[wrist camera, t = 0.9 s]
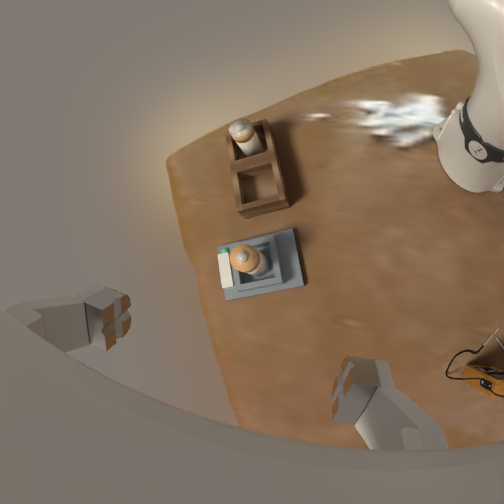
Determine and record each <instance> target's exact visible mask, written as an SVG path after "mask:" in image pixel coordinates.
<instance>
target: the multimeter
mask: <svg viewBox="0 0 504 504" xmlns="http://www.w3.org/2000/svg"><path fill="white" fill-rule="evenodd" d="M498 329H499V328H498ZM498 329H497V330H498ZM497 330H496V331H497ZM496 331H495V332H496ZM495 332H494V333H493V334H491V336H490V337H489V338H488V339H487V341H486V342H485V343H484V344H483V346H482V347H481V348H480V349H479V350H478V351H477V352H476V353H474V352H472V351H469V350H465V351H462V352H460V353H458V354H456V355H455V356H454V358H455V357H456V356H457V355H459V354H461V353H463V352H471V353H473V354H477V353H478V352H479V351H480V350H481V349H482V348H483V347H484V346H485V345H486V344H487V343H488V342H489V341H490V339H491V338H492V337H493V336H494V334H495ZM496 338H497V337H496ZM497 340H498V338H497ZM498 342H499V343H500V341H499V340H498ZM500 346H501V348H502V349H503V351H504V346H503V345H502V343H500ZM454 358H453V359H452V360H451V362H450V364H449V366H448V368H447V370H446V376H447V377H448V378H450V379H456V380H465V381H466V382H468V383H469V384H471V385H472V386H474V387H476V388H477V389H479V390H480V391H482V392H484V393H485V394H487V395H488V396H490V397H492V398H504V370H502V369H500V368H497V367H495V366H480V365H466V367H465V371H464V374H463V378H452V377H449V376H448V375H447V371H448V369H449V367H450V365H451V363H452V361H453V360H454Z"/></svg>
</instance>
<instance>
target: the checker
mask: <svg viewBox="0 0 504 504" xmlns="http://www.w3.org/2000/svg"><path fill="white" fill-rule="evenodd" d="M239 244H248V245H250V246H252V247H253V248H255V249H256V250H257V251H259V252H260V253H262V254H263V255H265V256H266V257H267V258H268V259H269V262H270V268H269V270H268V272H267V273H266V274H265V275H263V276H260V277H257V276H253V275H250V274H247V273H244V272H241V271H238V270H236V269H234V268H233V267H232V265H231V263H230V253H231V251H232V249H233V248H234V247H235V246H237V245H239ZM218 249H219V254H218V261H219V268H220V275H221V282H222V288H224V291H225V298H226V300H234V299H239V298H245V297H250V296H256V295H261V294H266V293H271V292H277V291H282V290H287V289H292V288H297V287H301V286H304V282H303V276H302V271H301V266H300V261H299V256H298V251H297V246H296V241H295V236H294V231H293V229H288V230H284V231H280V232H276V233H272V234H267V235H263V236H259V237H255V238H251V239H247V240H243V241H239V242H234V243H230V244H226V245H222V246H218Z"/></svg>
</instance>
